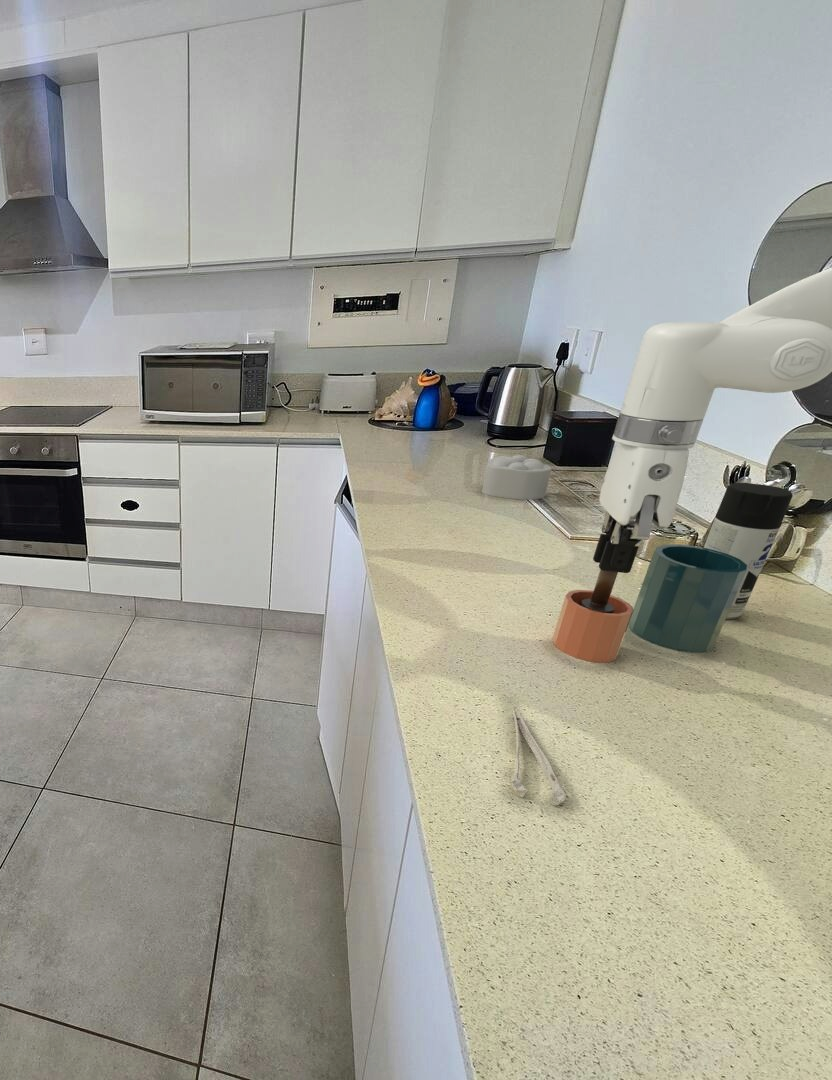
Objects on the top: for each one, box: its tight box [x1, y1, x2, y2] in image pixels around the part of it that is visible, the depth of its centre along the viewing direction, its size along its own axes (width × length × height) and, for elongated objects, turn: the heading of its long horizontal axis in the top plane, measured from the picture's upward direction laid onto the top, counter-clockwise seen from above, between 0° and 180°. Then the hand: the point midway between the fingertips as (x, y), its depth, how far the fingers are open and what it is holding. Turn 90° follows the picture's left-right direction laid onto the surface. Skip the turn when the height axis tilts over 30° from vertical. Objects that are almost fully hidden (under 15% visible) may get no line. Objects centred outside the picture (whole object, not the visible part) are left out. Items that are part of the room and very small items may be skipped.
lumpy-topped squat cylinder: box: [481, 454, 553, 501], centre depth 142 cm, size 10×13×9 cm
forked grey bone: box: [510, 706, 567, 806], centre depth 66 cm, size 18×5×2 cm, turn 155°
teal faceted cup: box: [628, 543, 747, 654], centre depth 82 cm, size 9×9×13 cm
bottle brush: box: [580, 528, 625, 614], centre depth 78 cm, size 4×4×18 cm
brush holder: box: [551, 589, 634, 664], centre depth 81 cm, size 7×7×8 cm
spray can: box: [703, 482, 794, 620], centre depth 87 cm, size 7×7×20 cm
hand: (610, 566), depth 77 cm, fingers closed on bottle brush
